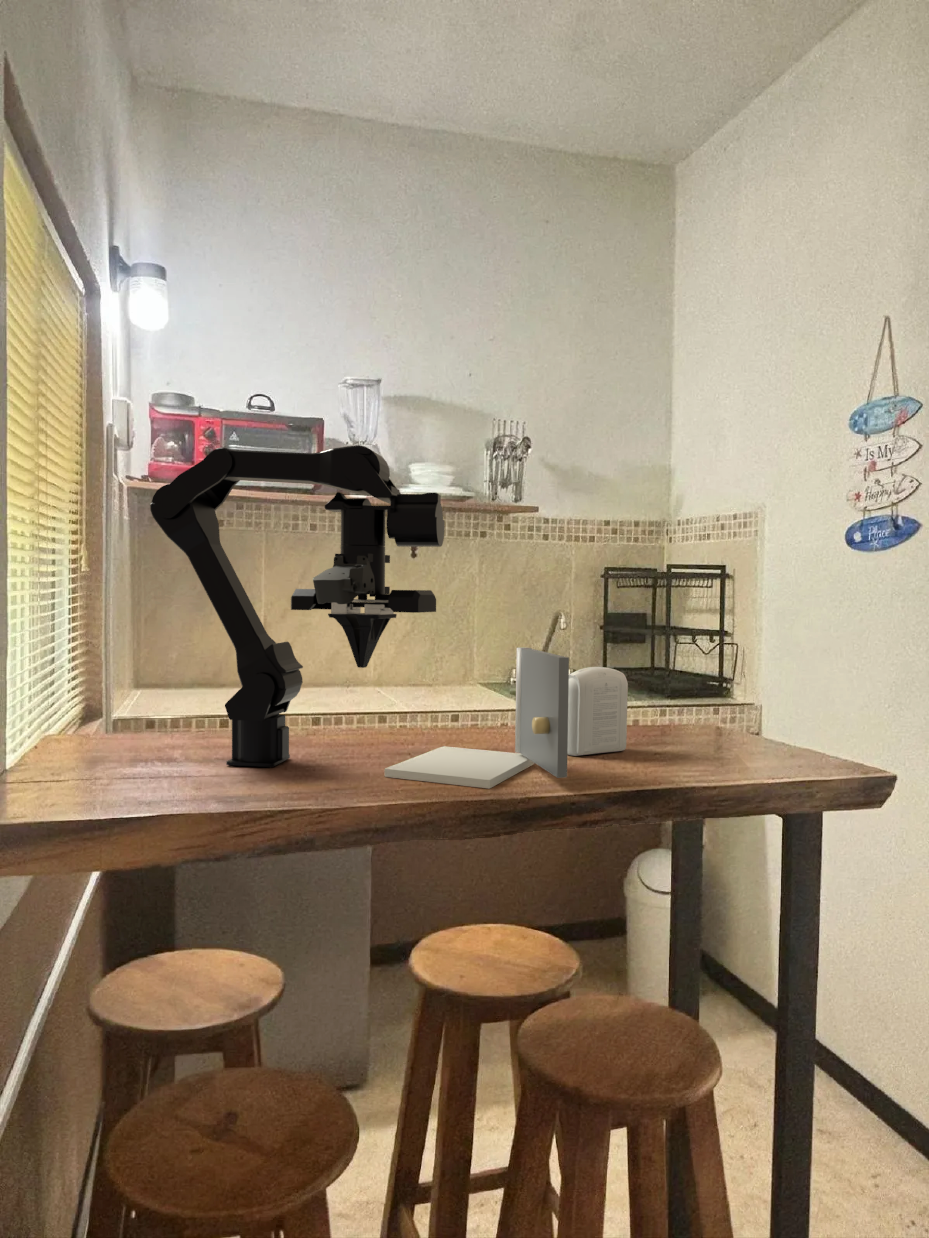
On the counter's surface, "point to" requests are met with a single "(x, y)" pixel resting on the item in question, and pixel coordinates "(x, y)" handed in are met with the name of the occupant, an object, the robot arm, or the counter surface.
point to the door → (542, 709)
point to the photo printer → (597, 711)
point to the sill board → (461, 767)
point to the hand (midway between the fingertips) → (362, 667)
